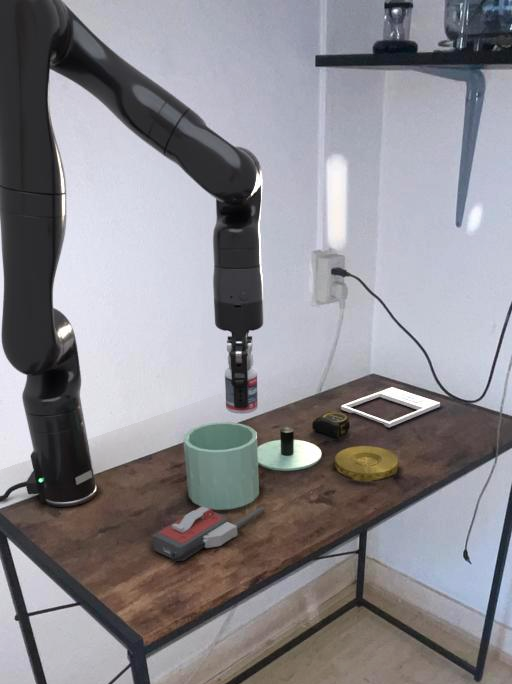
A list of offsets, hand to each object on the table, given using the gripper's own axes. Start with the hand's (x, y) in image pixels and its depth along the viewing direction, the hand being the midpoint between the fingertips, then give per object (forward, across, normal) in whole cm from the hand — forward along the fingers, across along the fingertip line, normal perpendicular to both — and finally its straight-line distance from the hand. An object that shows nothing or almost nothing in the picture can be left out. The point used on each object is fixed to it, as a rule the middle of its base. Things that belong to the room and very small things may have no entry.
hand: (241, 400), depth 113 cm
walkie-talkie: (+19, +12, -6) cm, 23 cm away
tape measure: (+19, -28, +18) cm, 38 cm away
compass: (+19, -11, +23) cm, 32 cm away
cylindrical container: (+19, -2, -4) cm, 19 cm away
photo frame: (+18, -42, +33) cm, 56 cm away
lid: (+18, -17, +8) cm, 26 cm away
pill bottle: (+2, 0, 0) cm, 2 cm away
